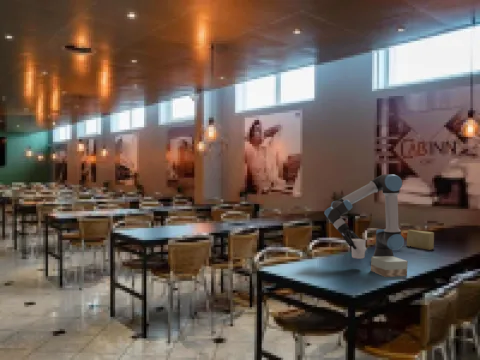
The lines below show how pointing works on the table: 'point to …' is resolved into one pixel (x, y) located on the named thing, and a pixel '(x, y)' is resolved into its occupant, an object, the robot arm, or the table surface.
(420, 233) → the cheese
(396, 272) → the bottom block
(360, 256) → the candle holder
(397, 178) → the robot arm
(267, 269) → the table surface
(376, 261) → the top block
